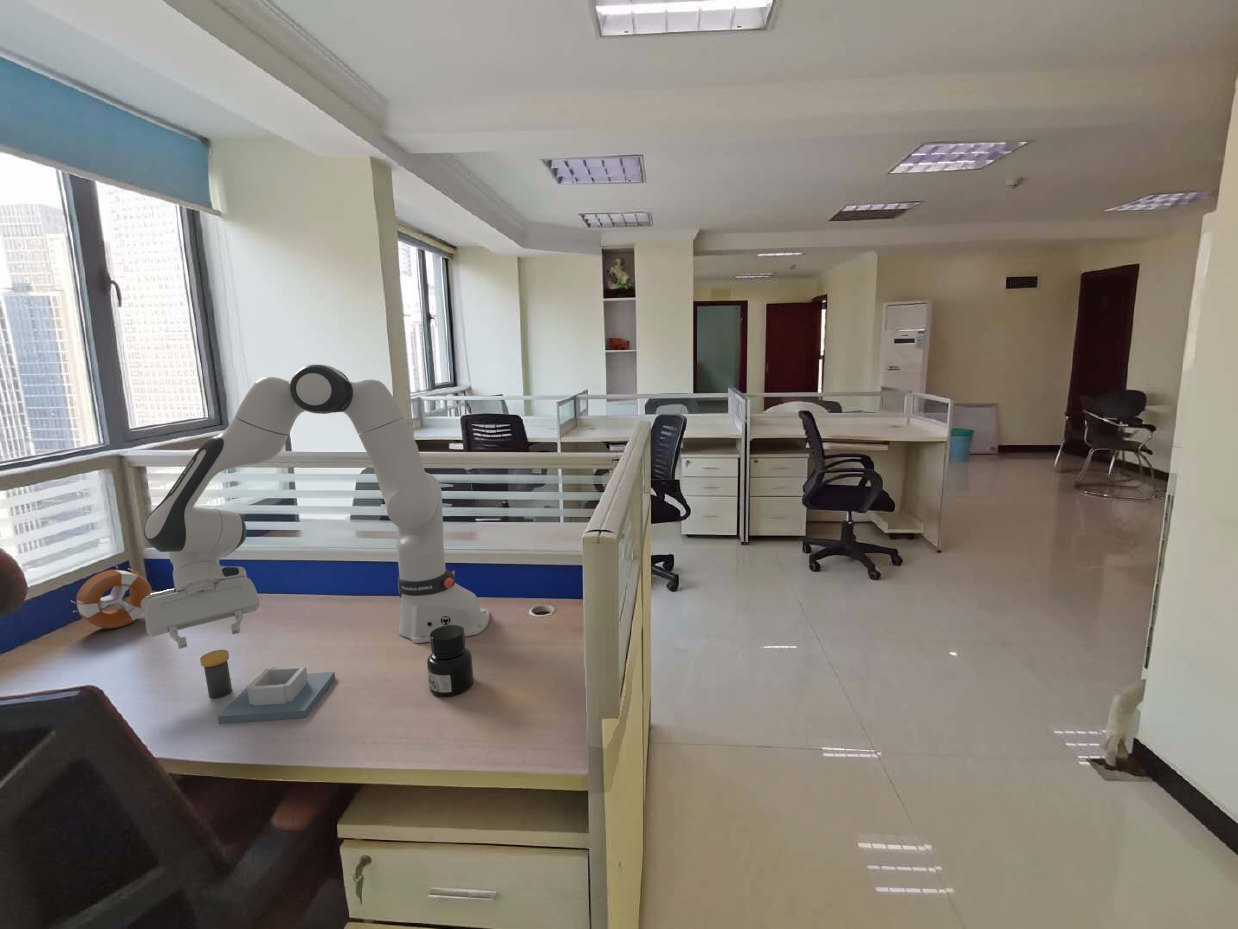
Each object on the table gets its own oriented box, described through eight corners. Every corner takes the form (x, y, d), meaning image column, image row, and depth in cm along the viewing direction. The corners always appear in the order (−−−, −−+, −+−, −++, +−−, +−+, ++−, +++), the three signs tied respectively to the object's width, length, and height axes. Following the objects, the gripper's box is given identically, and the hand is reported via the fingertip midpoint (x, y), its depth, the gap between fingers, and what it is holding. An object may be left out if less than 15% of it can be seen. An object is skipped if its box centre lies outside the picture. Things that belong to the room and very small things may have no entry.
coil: (157, 616, 160) (148, 565, 157) (87, 639, 148) (75, 584, 145) (147, 611, 164) (137, 561, 161) (77, 633, 151) (65, 579, 149)
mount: (335, 678, 126) (332, 656, 125) (305, 717, 112) (302, 694, 111) (258, 683, 125) (254, 661, 124) (218, 723, 111) (214, 699, 110)
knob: (239, 686, 124) (233, 649, 122) (225, 699, 119) (219, 660, 118) (215, 687, 124) (209, 650, 122) (201, 700, 119) (194, 662, 117)
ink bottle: (422, 683, 123) (417, 630, 121) (462, 669, 128) (458, 618, 126) (439, 704, 115) (434, 648, 113) (481, 688, 120) (477, 634, 118)
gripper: (137, 589, 121) (146, 650, 116) (252, 565, 134) (264, 619, 128) (141, 602, 126) (149, 662, 120) (252, 578, 138) (264, 631, 133)
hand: (210, 639), depth 124 cm, fingers open, 8 cm apart
